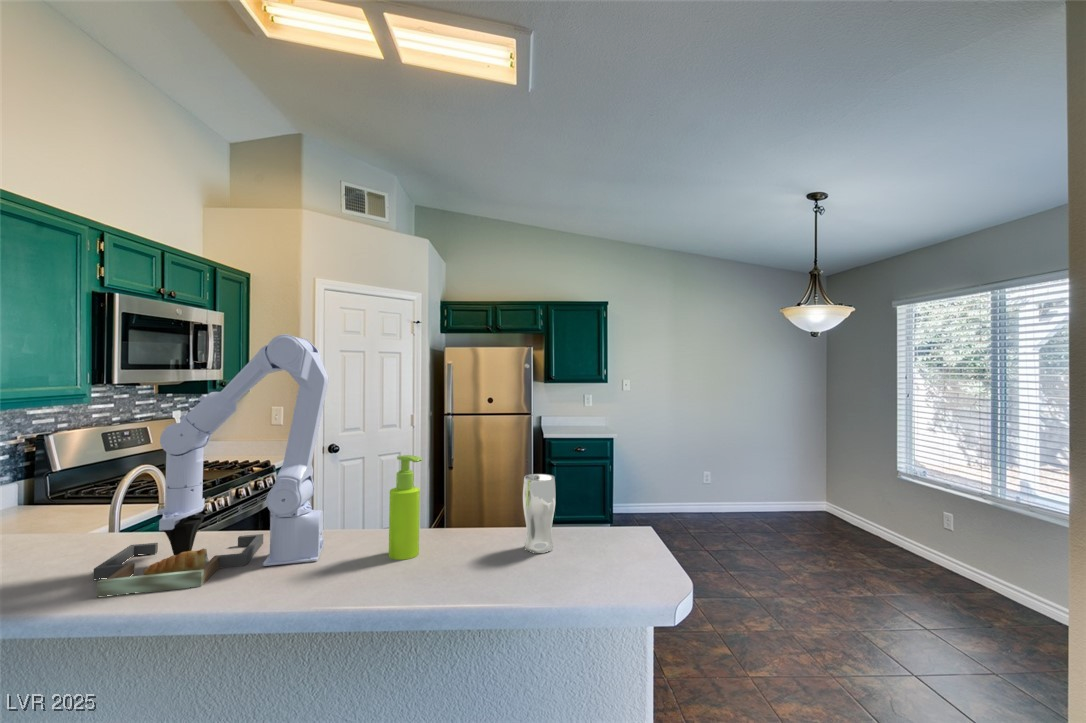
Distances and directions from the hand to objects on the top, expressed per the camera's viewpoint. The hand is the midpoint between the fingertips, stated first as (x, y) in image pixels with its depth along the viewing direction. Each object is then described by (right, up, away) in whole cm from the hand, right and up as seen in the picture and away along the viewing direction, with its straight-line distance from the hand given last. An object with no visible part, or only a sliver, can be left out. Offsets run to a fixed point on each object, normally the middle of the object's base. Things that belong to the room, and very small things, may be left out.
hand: (182, 556), depth 90 cm
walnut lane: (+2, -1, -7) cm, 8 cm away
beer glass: (+68, -2, +9) cm, 69 cm away
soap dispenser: (+41, -2, +5) cm, 42 cm away
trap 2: (+9, -2, +5) cm, 10 cm away
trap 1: (-10, -1, -1) cm, 10 cm away
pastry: (+3, -2, -4) cm, 5 cm away
